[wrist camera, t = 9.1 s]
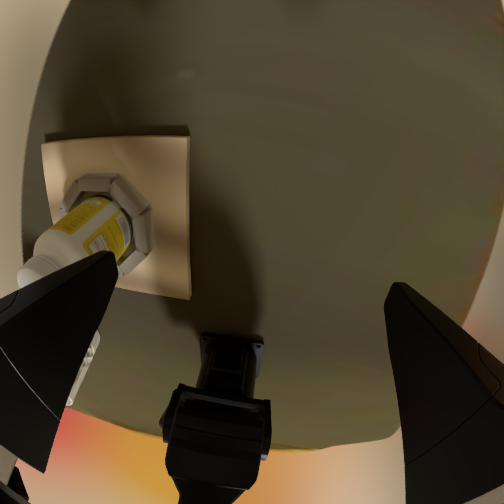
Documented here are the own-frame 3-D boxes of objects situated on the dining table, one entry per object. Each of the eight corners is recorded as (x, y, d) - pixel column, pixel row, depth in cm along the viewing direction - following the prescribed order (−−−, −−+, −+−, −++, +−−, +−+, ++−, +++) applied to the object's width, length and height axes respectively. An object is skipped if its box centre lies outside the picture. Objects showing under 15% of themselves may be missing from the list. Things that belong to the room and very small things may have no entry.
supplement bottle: (76, 221, 22) (5, 286, 13) (101, 177, 19) (15, 237, 11) (118, 260, 23) (60, 339, 15) (149, 222, 21) (82, 304, 13)
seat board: (191, 294, 26) (185, 311, 24) (71, 272, 26) (59, 284, 24) (190, 136, 18) (179, 141, 16) (46, 142, 19) (30, 148, 17)
